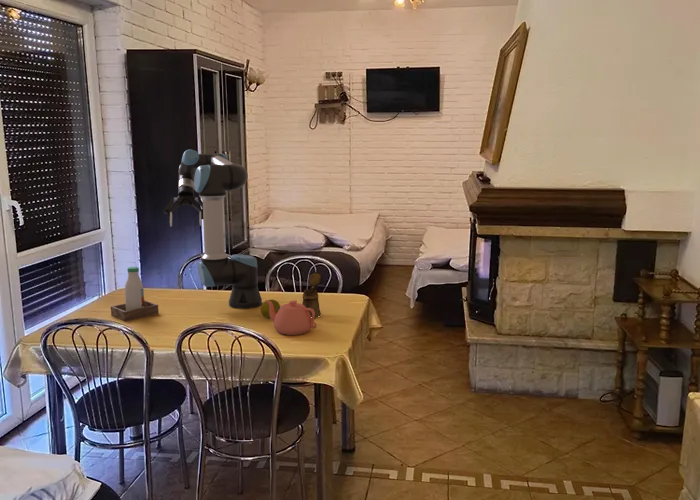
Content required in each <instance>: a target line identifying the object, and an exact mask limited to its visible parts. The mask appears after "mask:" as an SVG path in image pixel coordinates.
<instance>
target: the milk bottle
mask: <svg viewBox="0 0 700 500" xmlns="http://www.w3.org/2000/svg"><path fill="white" fill-rule="evenodd" d="M139 270H140V269H139V267H138V266H130V267H127V274H128V275H127V279H126V281H125V284H124V297H125V302H124V303H126V311H129V310H134V309H139V308H144V300H145V294H144V292H145V291H144V284H143V281H142V279H141V277H140V275H139V273H140V271H139Z"/></svg>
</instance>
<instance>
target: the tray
mask: <svg viewBox="0 0 700 500" xmlns="http://www.w3.org/2000/svg"><path fill="white" fill-rule="evenodd" d="M110 314H111V316H112V317H114V318H116V319H119V320H122V321H123V322H127V321H131V320H138V319H140V318H145V317H146V316H147V317H150V315H151V316H155V315H154V314H156V315H158V314H159V305H158V304H157V303H153V302H151V301H148V300H147V299H146V300H145V299H144V308H139V309H134V310H129V311H126V302H124V303H121V304H120V303H119V304H116V305H111V306H110ZM159 315H160V314H159Z"/></svg>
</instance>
